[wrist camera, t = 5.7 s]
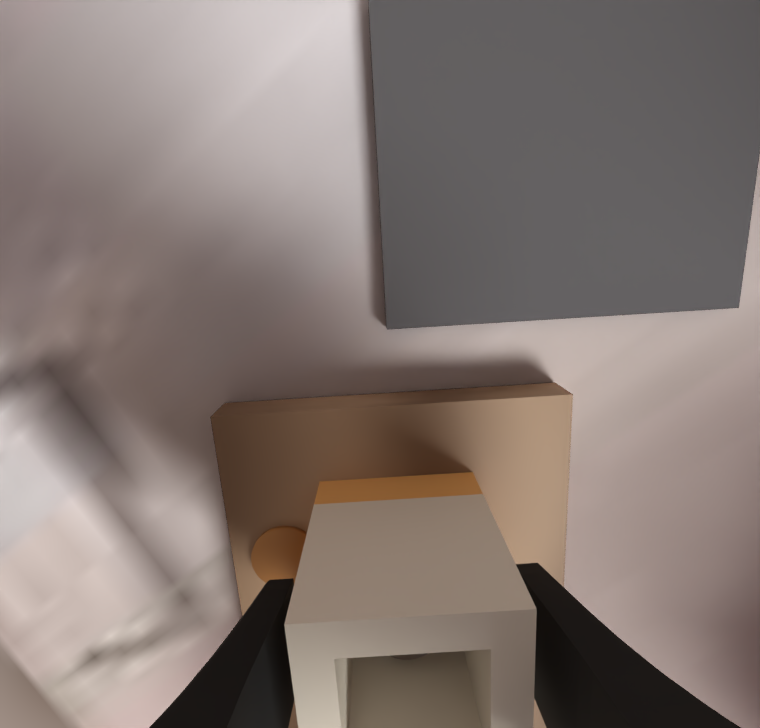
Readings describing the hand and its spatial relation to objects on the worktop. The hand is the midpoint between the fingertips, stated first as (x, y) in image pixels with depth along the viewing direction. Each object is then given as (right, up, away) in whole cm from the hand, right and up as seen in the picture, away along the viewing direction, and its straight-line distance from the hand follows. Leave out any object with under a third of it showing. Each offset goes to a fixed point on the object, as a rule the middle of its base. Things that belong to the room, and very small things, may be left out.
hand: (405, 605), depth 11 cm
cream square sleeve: (0, +1, +2) cm, 2 cm away
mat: (+4, +11, +1) cm, 12 cm away
